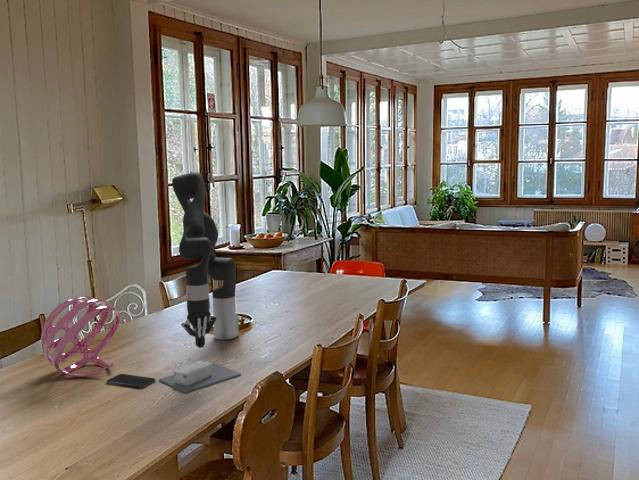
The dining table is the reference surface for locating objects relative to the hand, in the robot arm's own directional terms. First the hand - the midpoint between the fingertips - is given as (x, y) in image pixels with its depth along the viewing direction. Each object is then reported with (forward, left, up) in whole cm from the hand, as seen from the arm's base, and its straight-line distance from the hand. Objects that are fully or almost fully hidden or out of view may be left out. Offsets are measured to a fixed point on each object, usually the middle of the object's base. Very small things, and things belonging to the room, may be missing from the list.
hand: (200, 346), depth 206 cm
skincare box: (-2, 0, -8) cm, 8 cm away
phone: (+19, -13, -11) cm, 26 cm away
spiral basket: (+25, -36, -11) cm, 45 cm away
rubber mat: (+1, +1, -10) cm, 11 cm away
